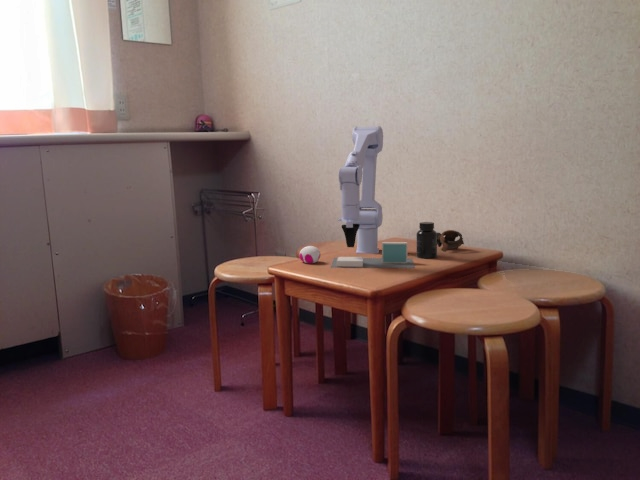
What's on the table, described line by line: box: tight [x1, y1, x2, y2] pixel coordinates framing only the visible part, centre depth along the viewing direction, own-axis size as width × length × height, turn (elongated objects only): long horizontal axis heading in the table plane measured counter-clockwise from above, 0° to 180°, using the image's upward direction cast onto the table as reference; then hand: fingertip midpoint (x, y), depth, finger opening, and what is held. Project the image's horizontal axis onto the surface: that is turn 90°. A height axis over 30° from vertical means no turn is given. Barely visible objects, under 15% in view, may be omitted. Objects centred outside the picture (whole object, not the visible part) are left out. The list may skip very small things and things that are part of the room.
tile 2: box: [381, 241, 408, 263], centre depth 181 cm, size 2×8×6 cm, turn 84°
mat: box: [330, 257, 416, 269], centre depth 182 cm, size 15×26×1 cm, turn 84°
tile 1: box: [337, 256, 364, 268], centre depth 179 cm, size 2×8×6 cm
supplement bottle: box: [415, 221, 438, 260], centre depth 189 cm, size 7×7×12 cm
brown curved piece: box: [437, 229, 465, 253], centre depth 204 cm, size 12×10×8 cm
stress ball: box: [299, 245, 321, 264], centre depth 183 cm, size 8×8×7 cm
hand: (350, 246), depth 181 cm, fingers closed
